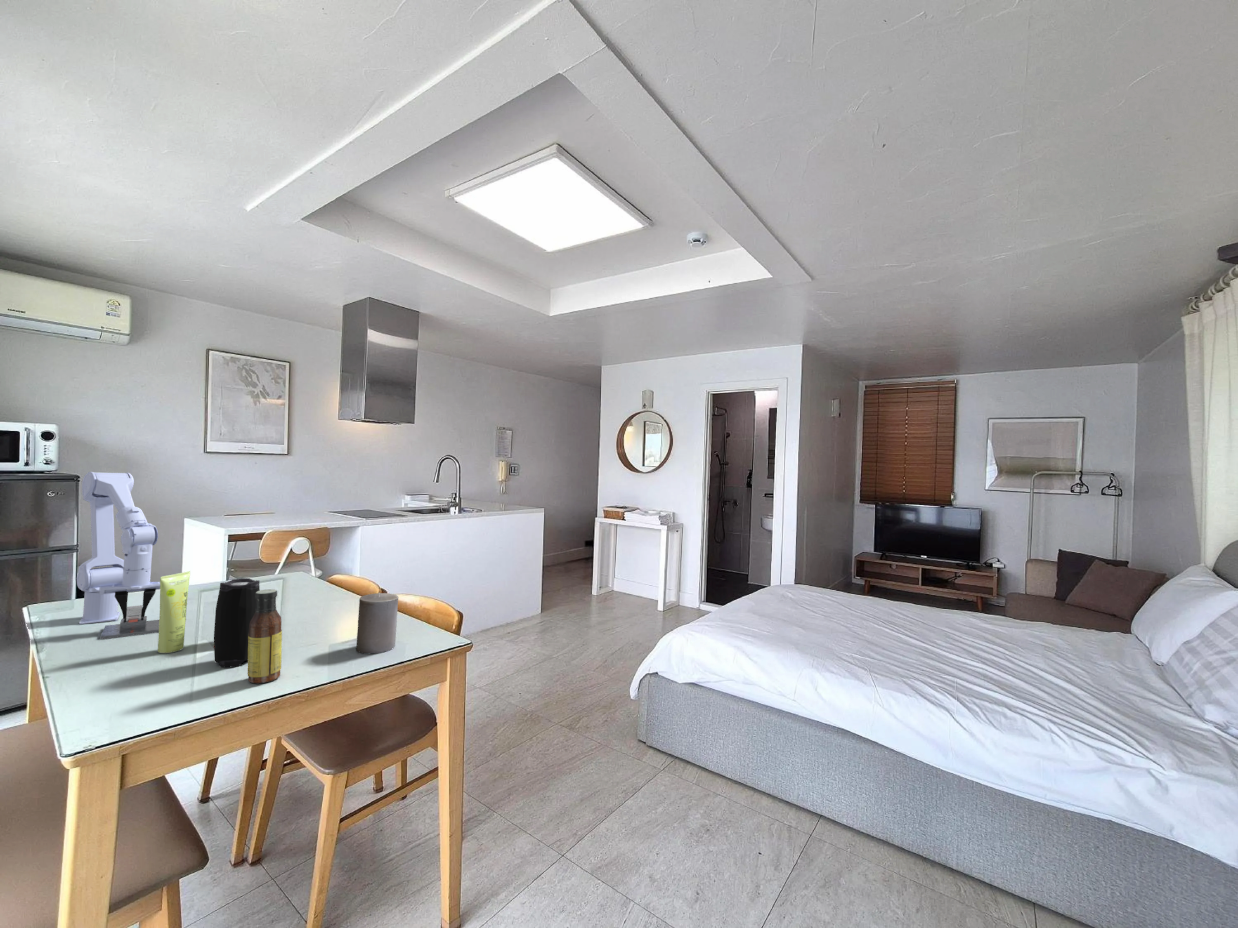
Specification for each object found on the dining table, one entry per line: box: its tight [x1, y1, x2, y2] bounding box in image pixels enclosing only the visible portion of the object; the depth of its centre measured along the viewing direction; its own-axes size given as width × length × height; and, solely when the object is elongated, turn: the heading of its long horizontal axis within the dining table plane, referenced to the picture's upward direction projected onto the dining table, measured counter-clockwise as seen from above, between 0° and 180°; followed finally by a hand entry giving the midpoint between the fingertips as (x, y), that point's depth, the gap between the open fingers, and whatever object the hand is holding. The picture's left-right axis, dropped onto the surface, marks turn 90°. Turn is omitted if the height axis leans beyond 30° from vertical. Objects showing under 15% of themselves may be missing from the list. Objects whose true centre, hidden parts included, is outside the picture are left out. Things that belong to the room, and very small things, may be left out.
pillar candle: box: [355, 591, 399, 655], centre depth 136 cm, size 10×10×15 cm
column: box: [126, 604, 143, 622], centre depth 142 cm, size 3×3×6 cm
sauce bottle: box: [247, 588, 283, 685], centre depth 113 cm, size 7×6×20 cm
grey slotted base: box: [100, 615, 159, 640], centre depth 142 cm, size 12×12×4 cm
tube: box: [157, 570, 191, 654], centre depth 128 cm, size 6×5×20 cm
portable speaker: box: [213, 577, 261, 668], centre depth 123 cm, size 9×9×20 cm
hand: (134, 616), depth 142 cm, fingers closed on column, 3 cm apart
